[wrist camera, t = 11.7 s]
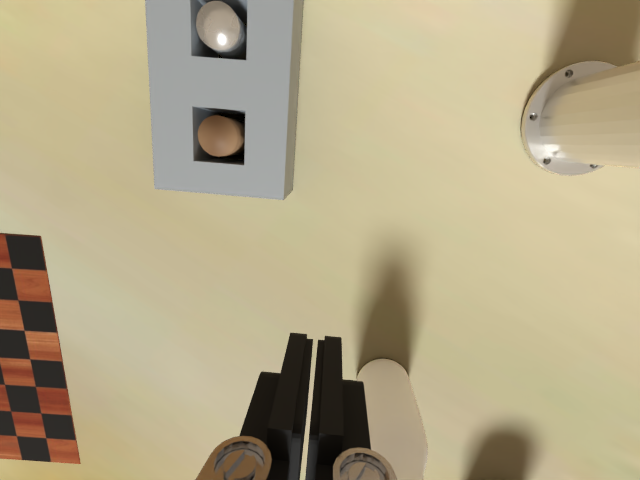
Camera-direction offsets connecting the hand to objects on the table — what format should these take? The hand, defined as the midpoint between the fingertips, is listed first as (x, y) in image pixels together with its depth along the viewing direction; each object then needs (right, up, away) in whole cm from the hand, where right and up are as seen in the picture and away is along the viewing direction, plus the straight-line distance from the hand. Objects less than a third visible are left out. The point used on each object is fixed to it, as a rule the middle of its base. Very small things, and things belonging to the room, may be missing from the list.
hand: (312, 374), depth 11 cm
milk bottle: (+10, -16, +41) cm, 45 cm away
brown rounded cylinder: (-10, +17, +32) cm, 37 cm away
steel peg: (-9, +27, +29) cm, 40 cm away
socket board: (-9, +22, +31) cm, 39 cm away
